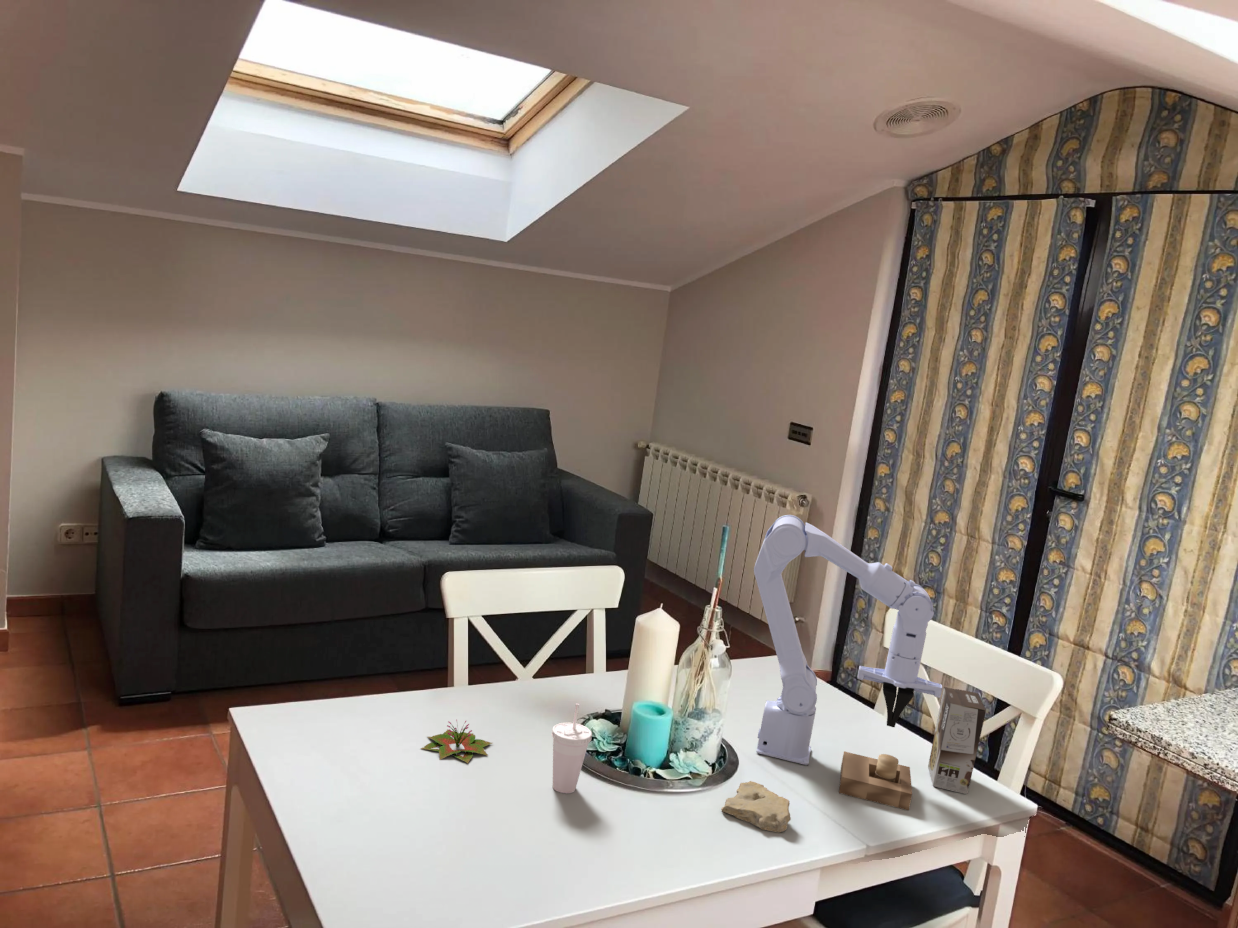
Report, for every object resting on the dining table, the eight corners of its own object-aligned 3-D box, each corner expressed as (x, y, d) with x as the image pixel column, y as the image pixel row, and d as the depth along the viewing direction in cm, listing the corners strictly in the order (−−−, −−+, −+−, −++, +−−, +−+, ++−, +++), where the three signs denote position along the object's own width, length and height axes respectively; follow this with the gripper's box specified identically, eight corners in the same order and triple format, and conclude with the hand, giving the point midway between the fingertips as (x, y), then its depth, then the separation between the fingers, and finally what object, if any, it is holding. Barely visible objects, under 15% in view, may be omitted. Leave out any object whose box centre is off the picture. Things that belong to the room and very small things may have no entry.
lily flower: (471, 773, 157) (474, 746, 157) (406, 752, 161) (409, 726, 161) (504, 745, 169) (507, 721, 168) (443, 727, 172) (446, 702, 172)
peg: (871, 791, 171) (877, 759, 170) (872, 783, 174) (878, 751, 173) (892, 797, 170) (898, 765, 169) (893, 788, 173) (899, 757, 172)
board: (839, 792, 168) (842, 776, 168) (840, 766, 179) (843, 751, 178) (908, 810, 166) (912, 793, 165) (906, 782, 176) (909, 766, 176)
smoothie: (590, 786, 158) (603, 704, 156) (572, 801, 152) (584, 717, 150) (556, 773, 161) (567, 693, 158) (536, 788, 155) (548, 705, 153)
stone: (704, 788, 161) (757, 774, 164) (705, 809, 161) (758, 794, 165) (743, 823, 149) (799, 807, 152) (744, 845, 149) (800, 828, 153)
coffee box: (969, 795, 175) (987, 710, 172) (932, 786, 176) (949, 702, 174) (962, 773, 184) (979, 692, 181) (926, 765, 185) (943, 684, 182)
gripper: (863, 650, 173) (849, 722, 175) (948, 669, 169) (932, 742, 172) (864, 639, 180) (850, 708, 182) (946, 657, 176) (931, 727, 178)
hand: (890, 724), depth 177 cm, fingers closed
